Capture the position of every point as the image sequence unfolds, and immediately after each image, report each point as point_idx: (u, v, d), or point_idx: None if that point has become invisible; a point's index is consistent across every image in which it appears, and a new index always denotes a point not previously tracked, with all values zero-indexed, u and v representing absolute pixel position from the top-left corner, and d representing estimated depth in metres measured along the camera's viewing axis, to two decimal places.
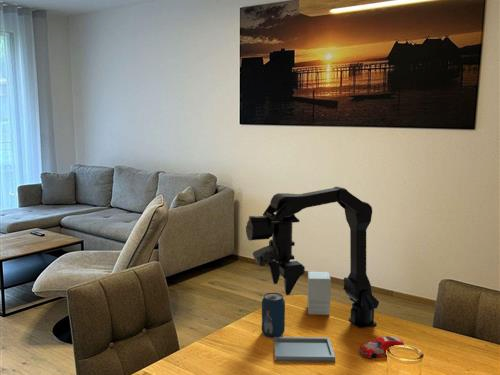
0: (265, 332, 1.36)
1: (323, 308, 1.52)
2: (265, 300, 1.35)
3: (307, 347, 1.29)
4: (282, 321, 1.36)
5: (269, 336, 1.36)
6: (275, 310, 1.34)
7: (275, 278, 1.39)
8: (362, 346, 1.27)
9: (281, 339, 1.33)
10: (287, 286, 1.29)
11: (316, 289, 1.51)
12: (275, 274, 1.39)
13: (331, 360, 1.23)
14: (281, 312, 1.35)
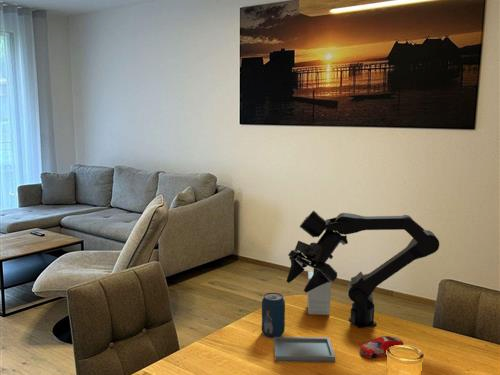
0: (265, 332, 1.36)
1: (323, 308, 1.52)
2: (265, 300, 1.35)
3: (307, 347, 1.29)
4: (282, 321, 1.36)
5: (269, 336, 1.36)
6: (275, 310, 1.34)
7: (291, 277, 1.45)
8: (362, 346, 1.27)
9: (281, 339, 1.33)
10: (311, 283, 1.36)
11: (316, 289, 1.51)
12: (293, 274, 1.45)
13: (331, 360, 1.23)
14: (281, 312, 1.35)
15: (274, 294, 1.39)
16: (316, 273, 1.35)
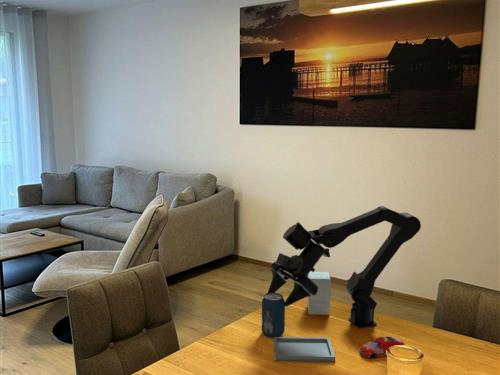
0: (265, 332, 1.36)
1: (323, 308, 1.52)
2: (265, 300, 1.35)
3: (307, 347, 1.29)
4: (282, 321, 1.36)
5: (269, 336, 1.36)
6: (275, 310, 1.34)
7: (272, 290, 1.42)
8: (362, 346, 1.27)
9: (281, 339, 1.33)
10: (291, 297, 1.33)
11: None
12: (274, 287, 1.42)
13: (331, 360, 1.23)
14: (281, 312, 1.35)
15: (274, 294, 1.39)
16: (296, 287, 1.33)
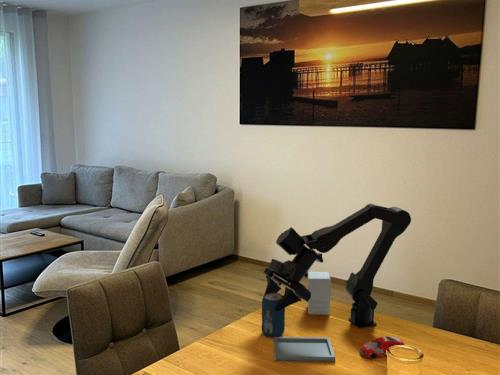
0: (265, 332, 1.36)
1: (323, 308, 1.52)
2: (265, 300, 1.35)
3: (307, 347, 1.29)
4: (282, 321, 1.36)
5: (269, 336, 1.36)
6: (275, 310, 1.34)
7: None
8: (362, 346, 1.27)
9: (281, 339, 1.33)
10: (282, 302, 1.33)
11: (316, 289, 1.51)
12: None
13: (331, 360, 1.23)
14: (281, 312, 1.35)
15: (274, 294, 1.39)
16: (287, 292, 1.32)
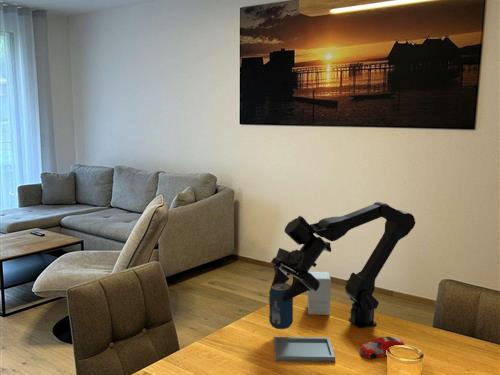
0: (273, 323, 1.33)
1: (323, 308, 1.52)
2: (272, 290, 1.32)
3: (307, 347, 1.29)
4: (290, 312, 1.33)
5: (277, 327, 1.33)
6: None
7: None
8: (362, 346, 1.27)
9: (281, 339, 1.33)
10: (290, 292, 1.30)
11: None
12: None
13: (331, 360, 1.23)
14: (289, 302, 1.32)
15: (282, 284, 1.36)
16: (295, 281, 1.29)
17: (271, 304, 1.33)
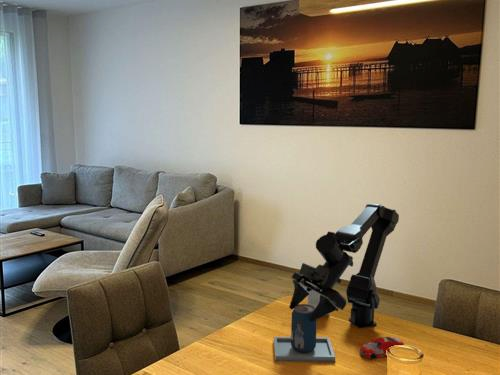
0: (295, 347, 1.26)
1: None
2: (296, 313, 1.25)
3: None
4: (314, 335, 1.26)
5: (300, 351, 1.26)
6: (307, 323, 1.24)
7: (294, 303, 1.30)
8: (362, 346, 1.27)
9: (281, 339, 1.33)
10: (317, 312, 1.22)
11: None
12: (296, 300, 1.31)
13: (331, 360, 1.23)
14: (313, 325, 1.25)
15: (304, 306, 1.29)
16: (323, 301, 1.21)
17: (294, 327, 1.26)
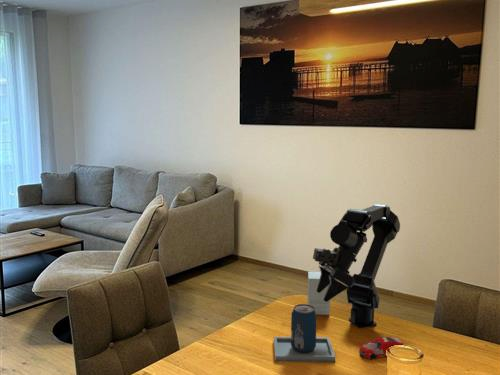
0: (295, 347, 1.26)
1: (323, 308, 1.52)
2: (295, 313, 1.25)
3: None
4: (314, 335, 1.26)
5: (300, 351, 1.26)
6: (307, 323, 1.24)
7: (321, 287, 1.39)
8: (361, 347, 1.27)
9: (281, 339, 1.33)
10: (329, 292, 1.29)
11: (316, 289, 1.51)
12: (322, 283, 1.39)
13: (331, 360, 1.23)
14: (313, 325, 1.25)
15: (304, 306, 1.29)
16: (330, 280, 1.28)
17: (294, 327, 1.26)
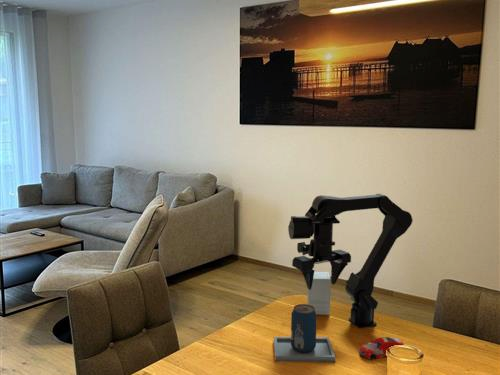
0: (295, 347, 1.26)
1: (323, 308, 1.52)
2: (295, 313, 1.25)
3: None
4: (314, 335, 1.26)
5: (300, 351, 1.26)
6: (307, 323, 1.24)
7: (333, 278, 1.44)
8: (361, 347, 1.27)
9: (281, 339, 1.33)
10: (305, 280, 1.39)
11: (316, 289, 1.51)
12: (333, 274, 1.44)
13: (331, 360, 1.23)
14: (313, 325, 1.25)
15: (304, 306, 1.29)
16: None
17: (294, 327, 1.26)
